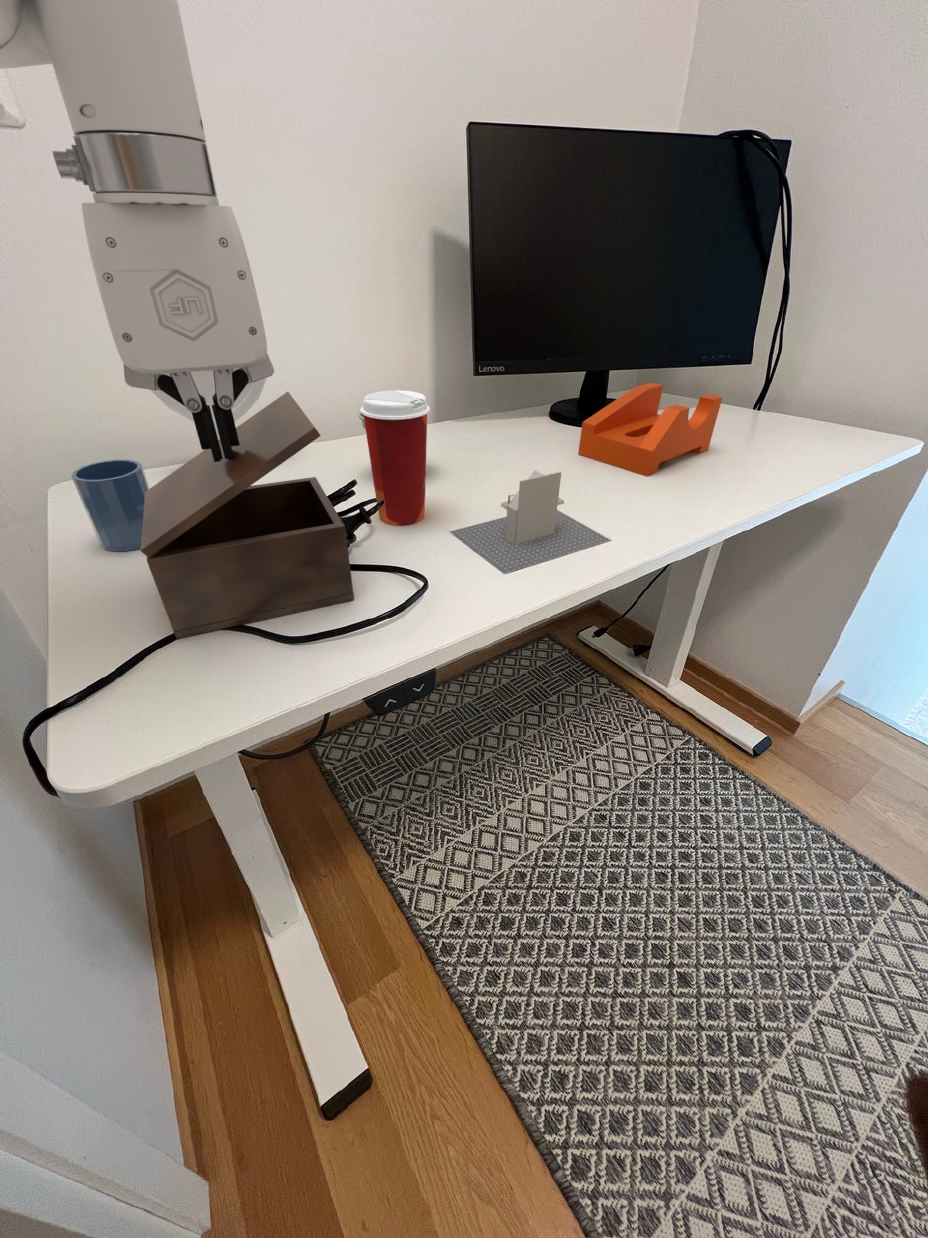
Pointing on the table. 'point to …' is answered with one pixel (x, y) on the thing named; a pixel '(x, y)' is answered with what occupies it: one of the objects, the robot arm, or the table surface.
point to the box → (255, 560)
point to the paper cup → (397, 452)
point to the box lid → (223, 472)
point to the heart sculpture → (207, 390)
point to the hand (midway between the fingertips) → (223, 455)
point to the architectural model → (530, 528)
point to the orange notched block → (647, 430)
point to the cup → (114, 501)
